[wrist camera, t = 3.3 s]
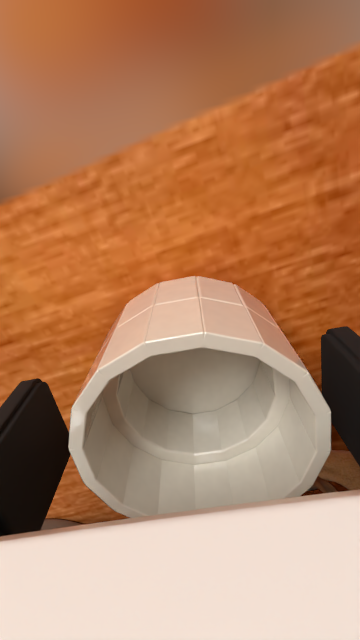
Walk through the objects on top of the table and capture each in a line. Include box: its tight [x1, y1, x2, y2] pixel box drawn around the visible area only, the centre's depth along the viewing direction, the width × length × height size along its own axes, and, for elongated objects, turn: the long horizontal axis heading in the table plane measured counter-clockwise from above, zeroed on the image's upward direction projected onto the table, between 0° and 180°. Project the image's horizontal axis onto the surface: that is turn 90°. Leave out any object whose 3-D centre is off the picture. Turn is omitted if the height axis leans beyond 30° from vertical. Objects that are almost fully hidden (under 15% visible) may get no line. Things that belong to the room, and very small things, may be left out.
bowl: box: [68, 276, 331, 518], centre depth 10 cm, size 7×7×5 cm
